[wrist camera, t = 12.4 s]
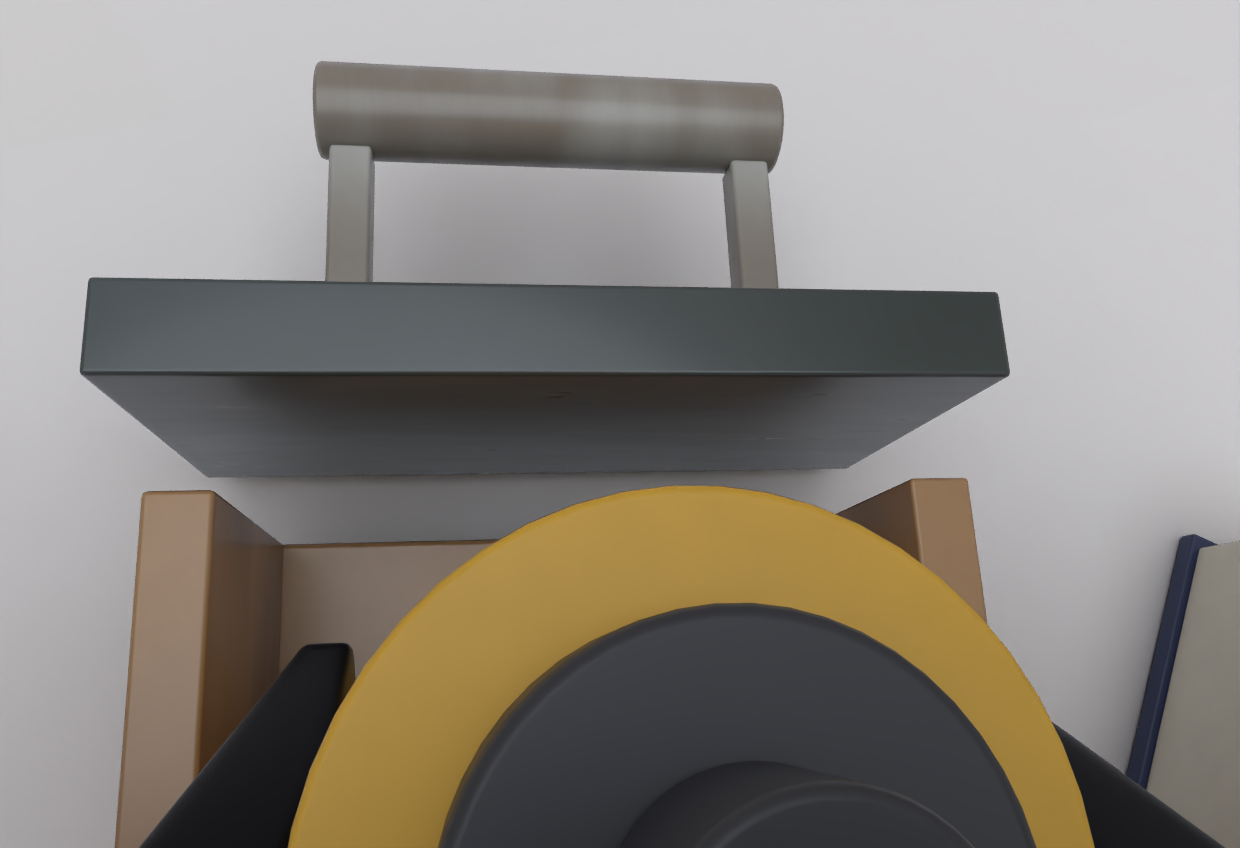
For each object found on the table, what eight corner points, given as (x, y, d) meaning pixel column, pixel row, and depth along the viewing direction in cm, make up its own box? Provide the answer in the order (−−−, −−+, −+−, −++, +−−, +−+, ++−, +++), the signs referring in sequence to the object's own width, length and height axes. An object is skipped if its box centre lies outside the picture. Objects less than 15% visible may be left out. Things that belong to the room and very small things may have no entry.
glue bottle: (771, 659, 15) (1454, 592, 4) (681, 1012, 13) (1384, 2054, 3) (461, 555, 14) (454, 239, 4) (336, 905, 13) (-122, 1676, 3)
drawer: (223, 182, 18) (116, -41, 12) (819, 201, 20) (957, 13, 14) (147, 1443, 13) (-79, 1986, 8) (937, 1316, 15) (1213, 1683, 10)
